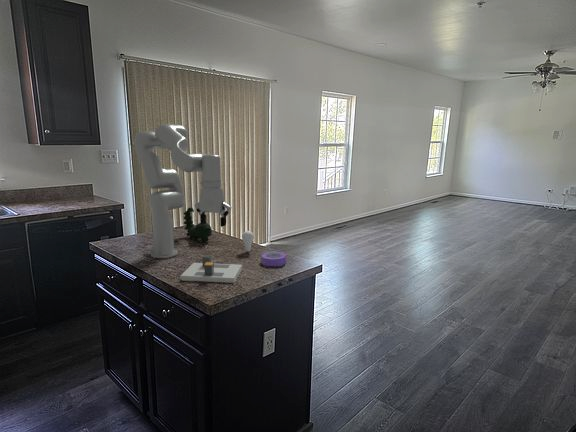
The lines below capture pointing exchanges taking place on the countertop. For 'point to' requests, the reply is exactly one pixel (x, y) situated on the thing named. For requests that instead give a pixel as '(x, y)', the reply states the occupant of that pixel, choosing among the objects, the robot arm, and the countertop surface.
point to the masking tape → (273, 259)
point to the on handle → (206, 259)
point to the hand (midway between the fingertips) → (213, 224)
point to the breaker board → (220, 273)
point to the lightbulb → (247, 239)
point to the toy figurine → (196, 228)
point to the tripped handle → (209, 268)
